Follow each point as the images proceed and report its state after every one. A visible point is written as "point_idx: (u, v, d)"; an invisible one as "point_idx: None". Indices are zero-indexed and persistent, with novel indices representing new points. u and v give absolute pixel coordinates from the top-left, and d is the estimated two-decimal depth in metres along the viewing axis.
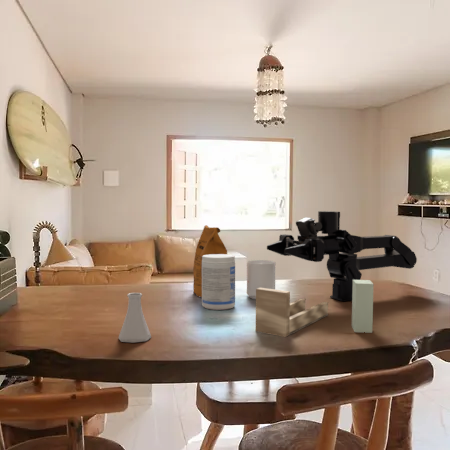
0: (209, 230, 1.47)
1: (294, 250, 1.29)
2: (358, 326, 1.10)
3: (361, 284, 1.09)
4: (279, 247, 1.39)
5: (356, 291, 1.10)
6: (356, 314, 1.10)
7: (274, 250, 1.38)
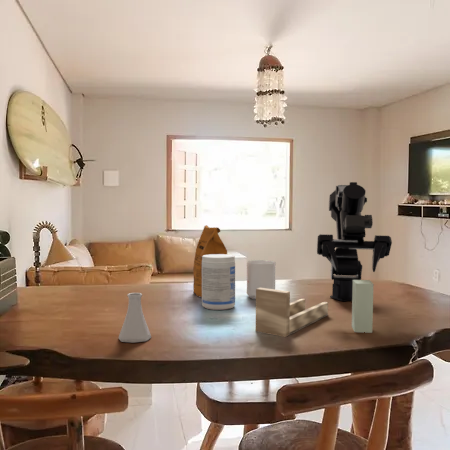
0: (209, 230, 1.47)
1: (377, 262, 1.20)
2: (358, 326, 1.10)
3: (361, 284, 1.09)
4: None
5: (356, 291, 1.10)
6: (356, 314, 1.10)
7: None
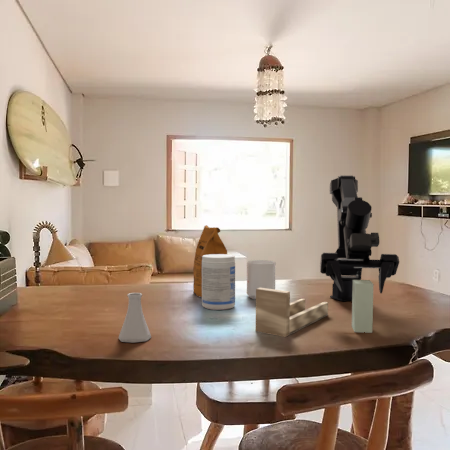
0: (209, 230, 1.47)
1: None
2: (358, 326, 1.10)
3: (361, 284, 1.09)
4: None
5: (356, 291, 1.10)
6: (356, 314, 1.10)
7: None
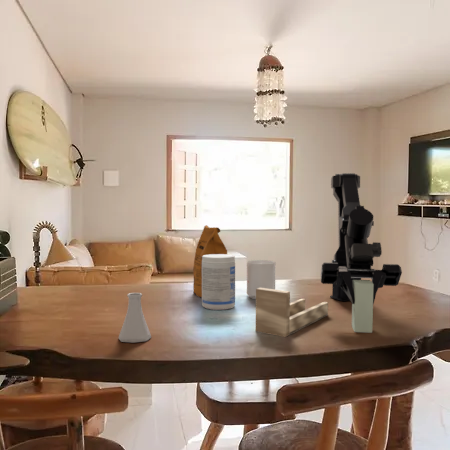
0: (209, 230, 1.47)
1: (375, 294, 1.12)
2: (358, 326, 1.10)
3: (361, 284, 1.09)
4: None
5: (356, 291, 1.09)
6: (356, 314, 1.10)
7: None
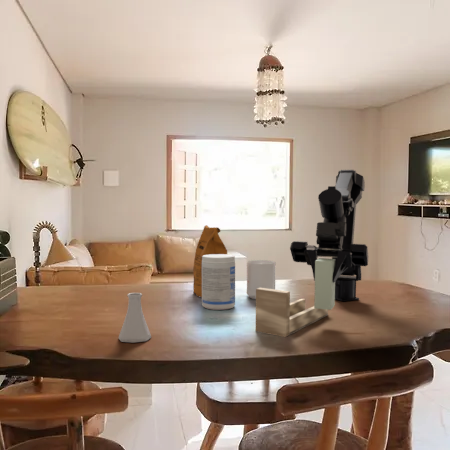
0: (209, 230, 1.47)
1: (338, 272, 1.13)
2: (317, 302, 1.13)
3: (320, 261, 1.12)
4: None
5: (315, 268, 1.12)
6: (315, 291, 1.13)
7: None
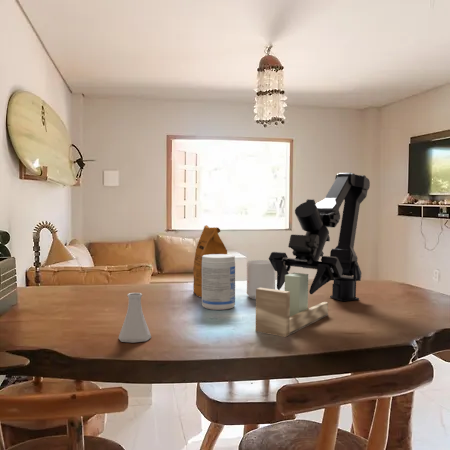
0: (209, 230, 1.47)
1: (317, 285, 1.15)
2: None
3: (289, 276, 1.16)
4: (283, 275, 1.22)
5: (285, 282, 1.17)
6: None
7: (282, 283, 1.21)
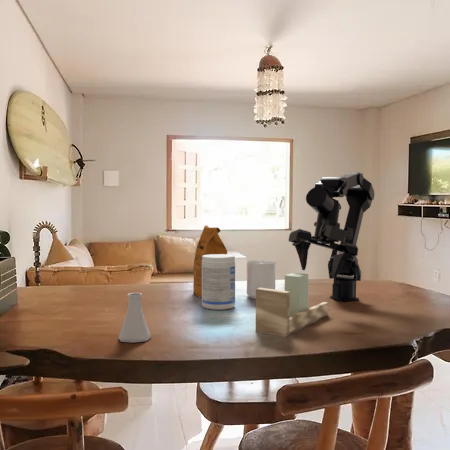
0: (209, 230, 1.47)
1: None
2: None
3: (289, 276, 1.16)
4: None
5: (285, 282, 1.17)
6: None
7: None
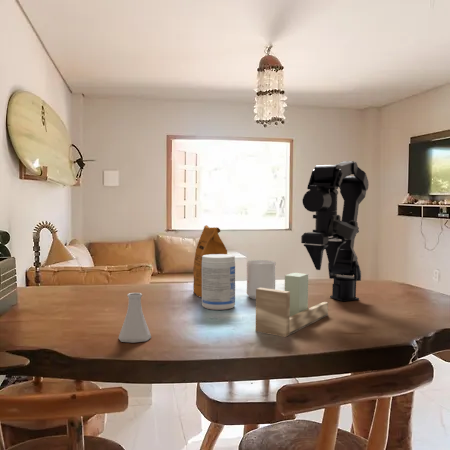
0: (209, 230, 1.47)
1: None
2: None
3: (289, 276, 1.16)
4: None
5: (285, 282, 1.17)
6: None
7: None
